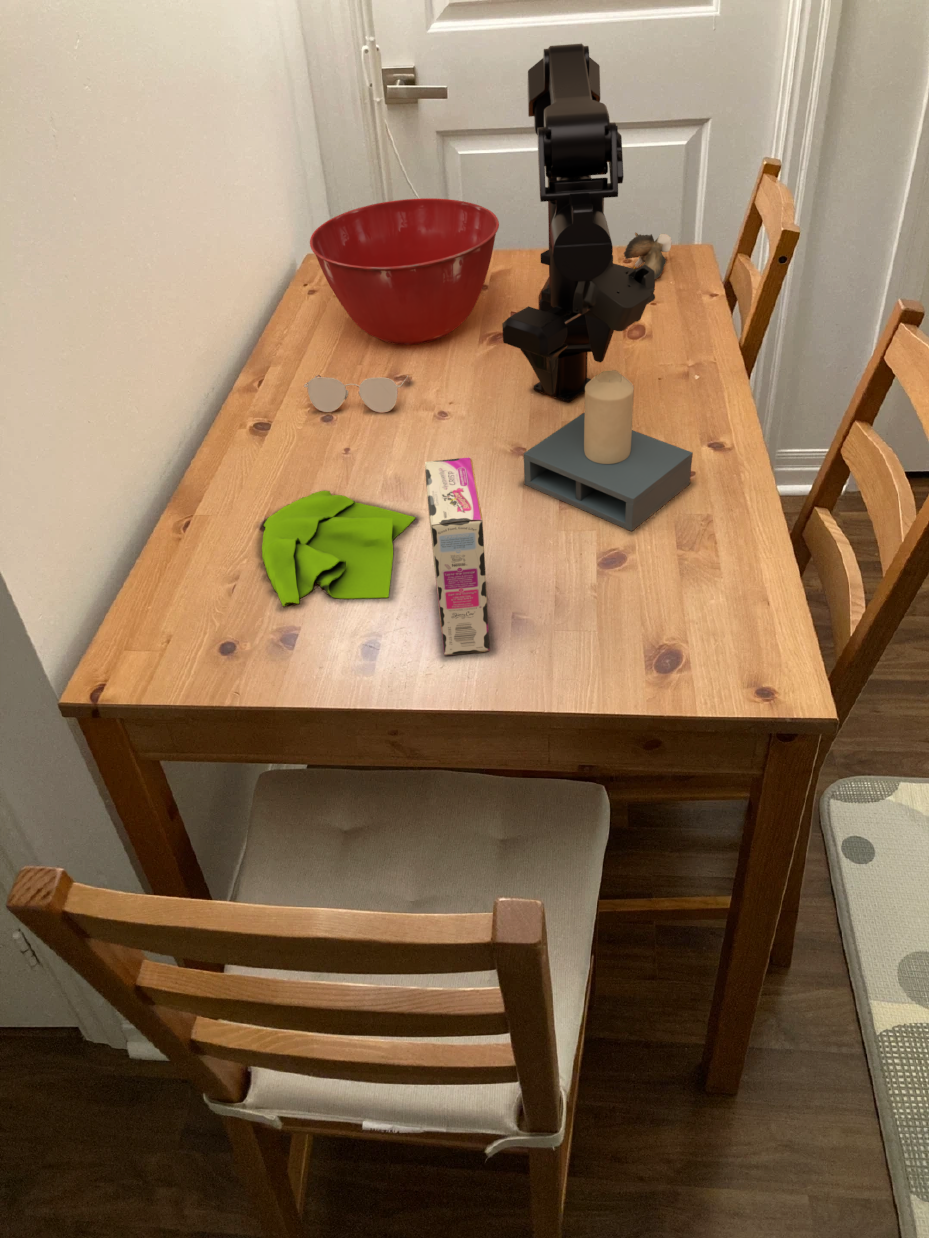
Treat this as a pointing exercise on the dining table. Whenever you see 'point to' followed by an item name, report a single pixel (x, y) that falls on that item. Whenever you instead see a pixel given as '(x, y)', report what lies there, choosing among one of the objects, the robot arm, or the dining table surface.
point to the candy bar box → (458, 555)
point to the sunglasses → (333, 392)
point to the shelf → (608, 475)
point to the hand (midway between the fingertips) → (574, 376)
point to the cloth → (331, 547)
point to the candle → (608, 417)
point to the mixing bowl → (407, 265)
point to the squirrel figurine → (649, 251)
